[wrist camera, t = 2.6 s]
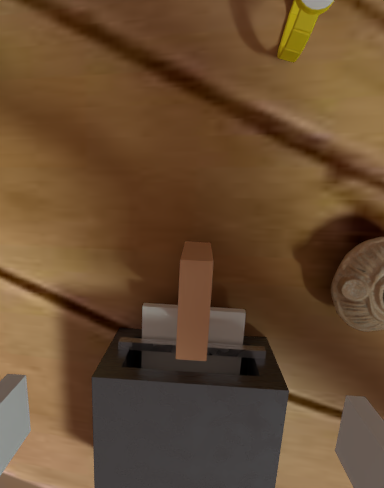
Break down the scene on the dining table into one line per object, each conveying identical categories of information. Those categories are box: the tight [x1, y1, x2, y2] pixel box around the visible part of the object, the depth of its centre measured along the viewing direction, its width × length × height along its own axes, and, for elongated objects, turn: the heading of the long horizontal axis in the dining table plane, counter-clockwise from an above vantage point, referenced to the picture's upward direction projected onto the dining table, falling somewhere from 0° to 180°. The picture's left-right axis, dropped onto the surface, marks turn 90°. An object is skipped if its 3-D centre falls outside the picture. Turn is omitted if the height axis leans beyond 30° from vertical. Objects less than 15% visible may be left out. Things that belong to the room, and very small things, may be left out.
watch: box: [277, 0, 335, 62], centre depth 22 cm, size 6×3×6 cm, turn 165°
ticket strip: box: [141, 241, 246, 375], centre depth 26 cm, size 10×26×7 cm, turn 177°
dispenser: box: [92, 328, 289, 488], centre depth 28 cm, size 16×19×8 cm
